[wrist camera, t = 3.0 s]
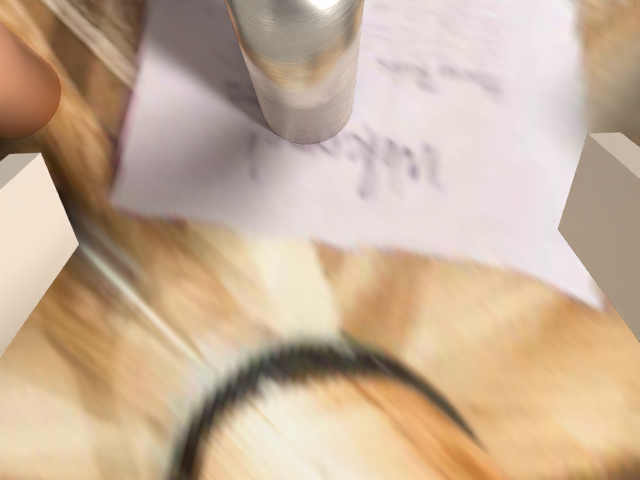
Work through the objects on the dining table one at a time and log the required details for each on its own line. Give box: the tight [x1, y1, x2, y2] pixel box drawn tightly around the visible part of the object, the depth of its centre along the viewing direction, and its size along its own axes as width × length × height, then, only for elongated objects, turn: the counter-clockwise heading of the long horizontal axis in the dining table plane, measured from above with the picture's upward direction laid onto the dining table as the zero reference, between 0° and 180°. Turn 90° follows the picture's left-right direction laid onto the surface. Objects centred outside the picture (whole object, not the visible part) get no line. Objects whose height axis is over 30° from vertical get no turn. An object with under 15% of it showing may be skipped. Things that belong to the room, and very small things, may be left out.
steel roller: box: [224, 0, 364, 144], centre depth 20 cm, size 5×5×11 cm
